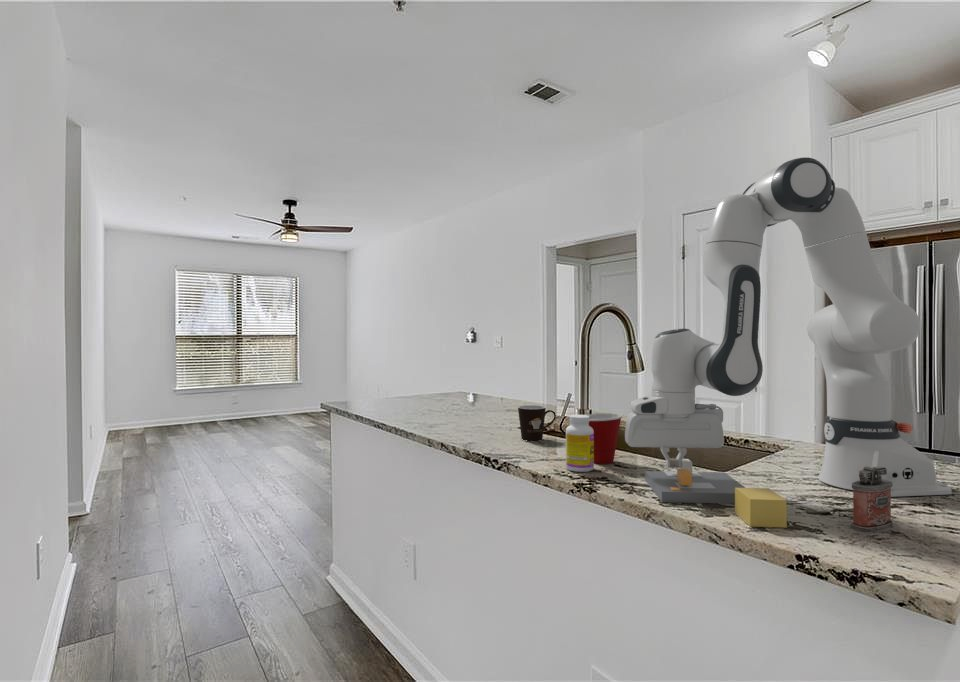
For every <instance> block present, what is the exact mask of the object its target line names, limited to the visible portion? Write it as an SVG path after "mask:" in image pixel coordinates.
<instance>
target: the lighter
mask: <svg viewBox="0 0 960 682" xmlns="http://www.w3.org/2000/svg"><path fill="white" fill-rule="evenodd" d="M882 475H887V468H885V467H883V466H878V467H873V468H871V467H864V468H863V470H861V471H859V477H860V481H856V482H854V483H852V489H853V490H852V491H853V492H852V493H853V494H852V495H853V496H852V497H853V498H852V499H853V500H852V501H853V503H852V504H853V508H852V509H853V510H852V514H853V515H852V518H853V519H852V521H851V529H852V530H853V531H855V532H858V533H863V534H874V533H879V532H880V533H881V532H884V531H888V530H889V529H892V528H893V520H892V513H891V511H892V497H891V487H892V481H889V480H885V479H882V477H881V476H882Z"/></svg>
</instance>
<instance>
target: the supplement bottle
mask: <svg viewBox="0 0 960 682" xmlns="http://www.w3.org/2000/svg"><path fill="white" fill-rule="evenodd" d="M587 415H588V414H571V415H570V416H569V423H570V424H569V425H568V426H567V427H566V429H565V468H566V469H567V470H569V471H571V472H575V473H588V472H592V471H593V470H594V469H595V463H594V430H593V428H592V427H590V426H589V421H590V417H589V416H587Z"/></svg>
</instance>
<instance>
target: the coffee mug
mask: <svg viewBox="0 0 960 682" xmlns="http://www.w3.org/2000/svg"><path fill="white" fill-rule="evenodd" d="M517 411H518V419H519V421H518V422H519V427H520V429H519V430H520V438H521V440H522V439H523V440H527V441H526V442H531V441H535V442H540V441H539V440H541V441H542V440H543V435H544V431H545V429H547V428H548V427H550V426H551V425H552V424H553V423H554V422H555V420H556V418H557V415H556V412H555V411H554V410H552V409H548V410H547V408H546V406H544V405H538V404H537V405H534V404H532V405H520V406H518V407H517ZM548 413H552V414H553V418H552V420H551V421H550V422H549V423H547V424H546V425H545V418H546V415H547V414H548ZM523 440H522V441H523Z"/></svg>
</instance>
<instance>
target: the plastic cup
mask: <svg viewBox="0 0 960 682" xmlns="http://www.w3.org/2000/svg"><path fill="white" fill-rule="evenodd" d="M586 415H587V416H589V417H590V421H589V426H590V427H592V428H593V430H594V464H599V465H610V464H613V463H614V460H615V455H616V450H617V445H618V444H617V443H618V439H619V438H618V437H619V431H620V424H621V421H622V418H623V414H620V413H613V412H611V413H610V412H609V413H608V412H607V413H606V412H603V413H600V412H599V413H590V414H586Z"/></svg>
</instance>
